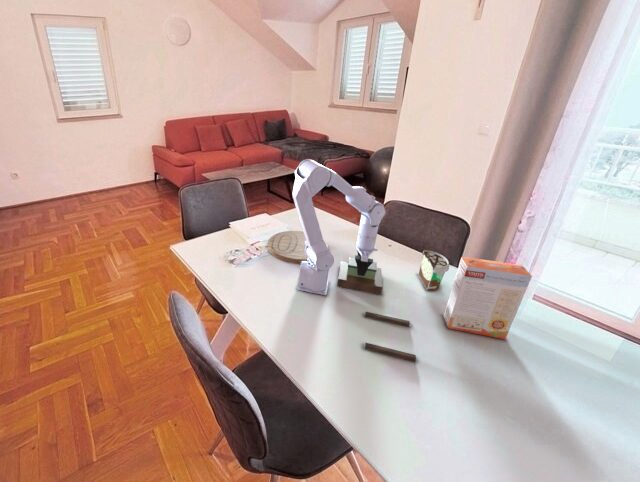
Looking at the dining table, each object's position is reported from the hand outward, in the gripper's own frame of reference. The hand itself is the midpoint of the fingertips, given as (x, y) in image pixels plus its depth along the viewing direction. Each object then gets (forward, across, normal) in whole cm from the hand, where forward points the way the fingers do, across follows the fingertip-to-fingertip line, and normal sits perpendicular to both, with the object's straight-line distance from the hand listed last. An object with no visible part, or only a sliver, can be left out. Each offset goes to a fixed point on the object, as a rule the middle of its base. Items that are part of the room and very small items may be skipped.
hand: (361, 269), depth 109 cm
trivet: (+5, +16, +25) cm, 30 cm away
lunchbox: (+2, 0, 0) cm, 2 cm away
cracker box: (+5, -13, -31) cm, 34 cm away
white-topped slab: (+5, 0, 0) cm, 5 cm away
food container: (+5, +7, -24) cm, 25 cm away
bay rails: (+5, -25, -8) cm, 27 cm away
